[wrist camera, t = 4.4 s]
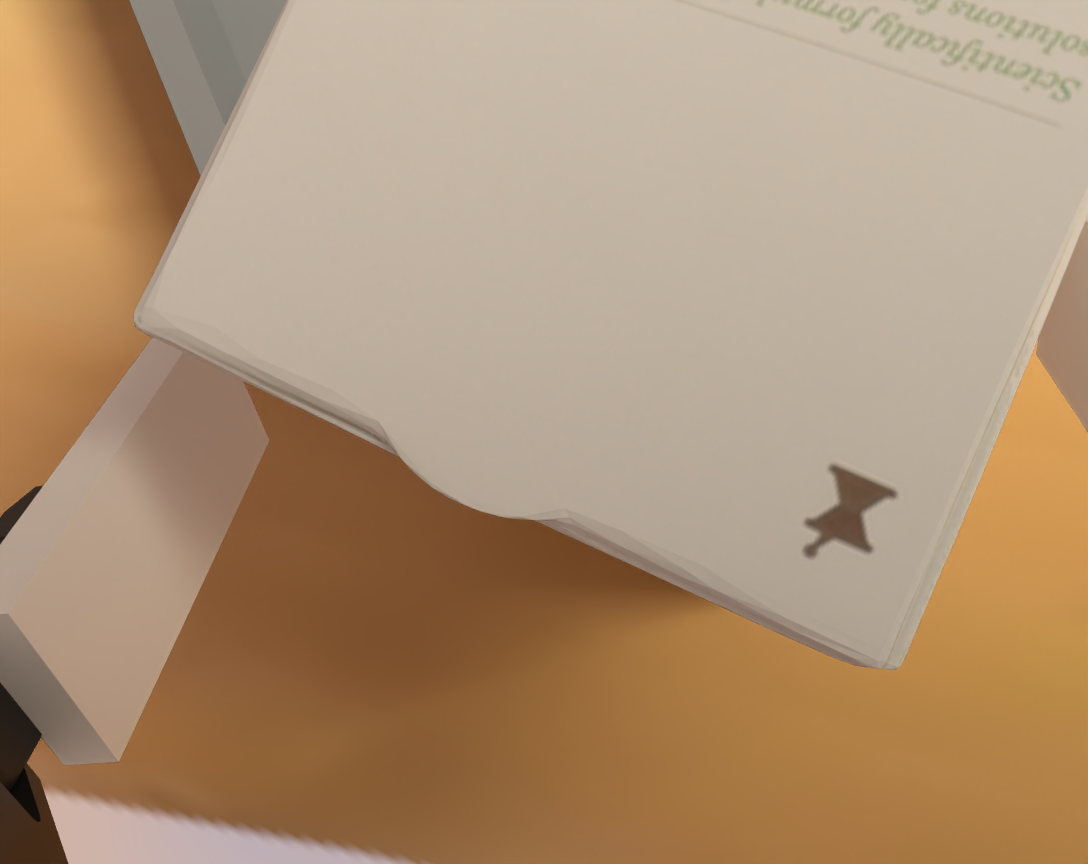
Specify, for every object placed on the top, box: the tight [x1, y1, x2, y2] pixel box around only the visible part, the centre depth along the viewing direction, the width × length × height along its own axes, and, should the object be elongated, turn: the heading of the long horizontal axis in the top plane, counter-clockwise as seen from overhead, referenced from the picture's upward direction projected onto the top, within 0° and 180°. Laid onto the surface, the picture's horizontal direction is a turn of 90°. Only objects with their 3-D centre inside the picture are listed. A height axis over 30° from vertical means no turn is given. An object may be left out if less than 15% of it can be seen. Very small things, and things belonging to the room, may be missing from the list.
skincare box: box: [133, 0, 1088, 670], centre depth 16 cm, size 8×7×16 cm
